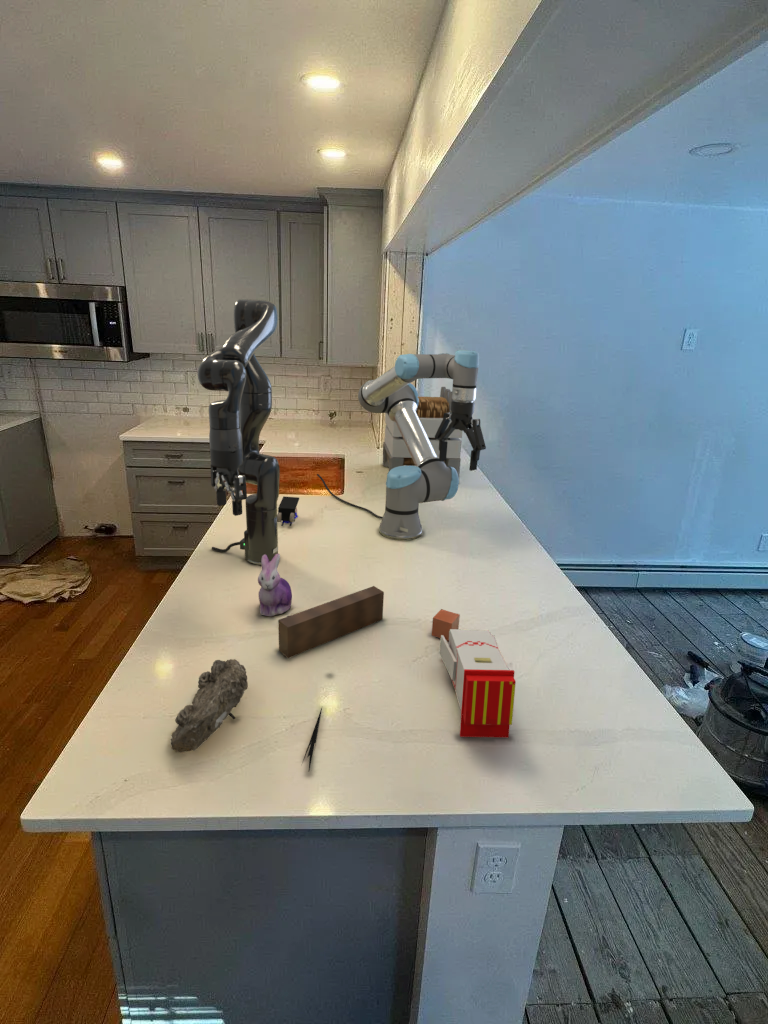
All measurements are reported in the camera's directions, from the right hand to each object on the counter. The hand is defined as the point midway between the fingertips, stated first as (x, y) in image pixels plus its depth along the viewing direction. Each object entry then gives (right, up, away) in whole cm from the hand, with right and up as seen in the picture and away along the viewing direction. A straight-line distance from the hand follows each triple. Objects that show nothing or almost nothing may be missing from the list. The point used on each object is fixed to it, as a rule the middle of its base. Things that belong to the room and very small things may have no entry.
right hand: (457, 465), depth 188 cm
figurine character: (-59, -19, +18) cm, 65 cm away
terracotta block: (-9, -45, -49) cm, 67 cm away
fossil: (-56, -55, -80) cm, 112 cm away
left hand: (-63, -15, -48) cm, 80 cm away
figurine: (-53, -41, -41) cm, 78 cm away
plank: (-37, -45, -51) cm, 77 cm away
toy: (-6, -53, -69) cm, 88 cm away
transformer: (-8, +3, +87) cm, 87 cm away
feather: (-37, -55, -79) cm, 103 cm away
